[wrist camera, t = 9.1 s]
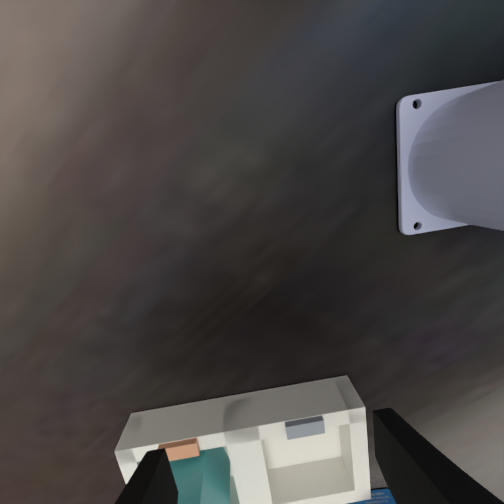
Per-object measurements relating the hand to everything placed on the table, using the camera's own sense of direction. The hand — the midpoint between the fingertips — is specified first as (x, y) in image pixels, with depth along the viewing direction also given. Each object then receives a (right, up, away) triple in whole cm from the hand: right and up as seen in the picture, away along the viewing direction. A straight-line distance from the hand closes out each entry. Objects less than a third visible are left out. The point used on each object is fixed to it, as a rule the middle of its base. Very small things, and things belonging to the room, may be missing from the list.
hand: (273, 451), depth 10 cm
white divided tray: (-1, -7, +12) cm, 14 cm away
